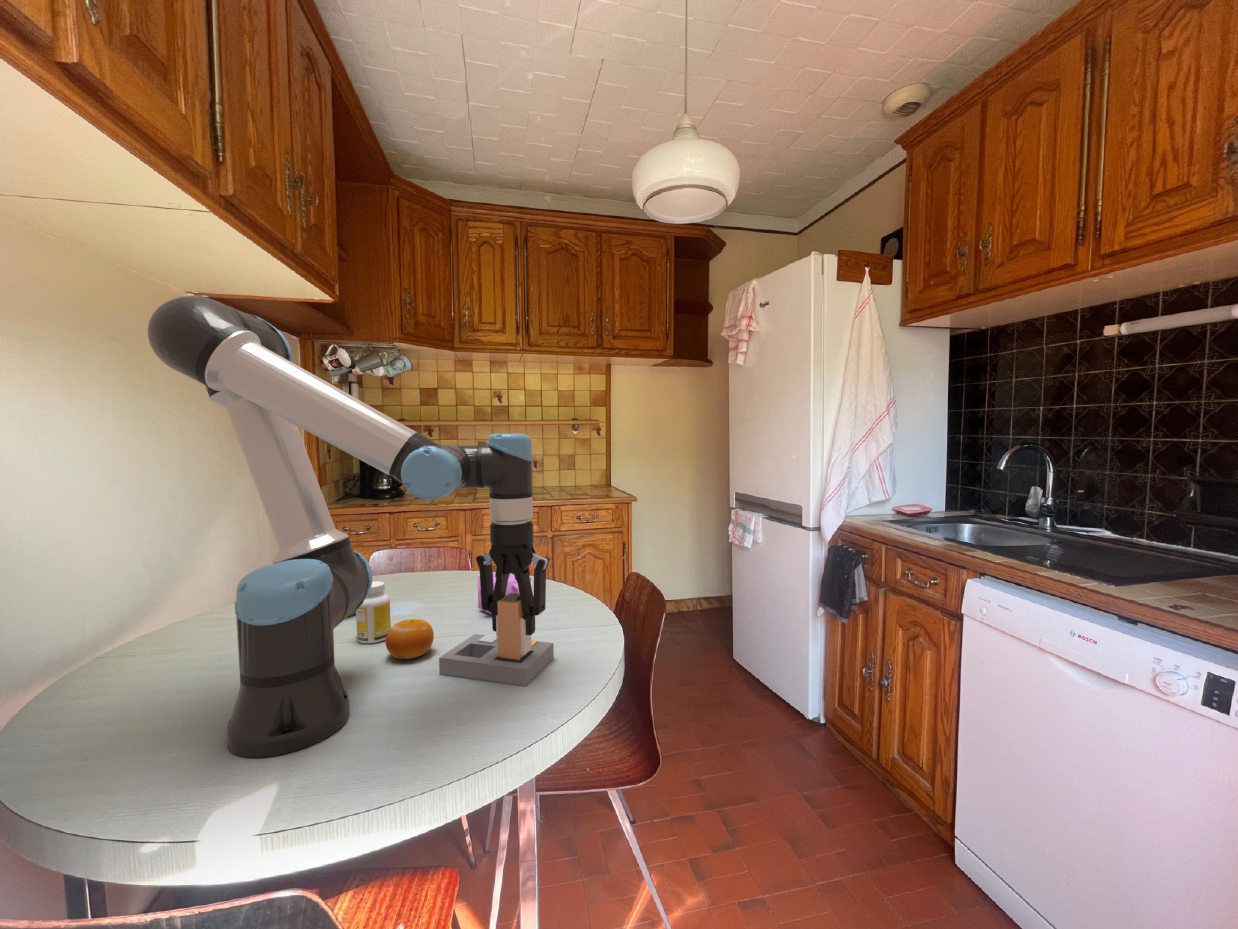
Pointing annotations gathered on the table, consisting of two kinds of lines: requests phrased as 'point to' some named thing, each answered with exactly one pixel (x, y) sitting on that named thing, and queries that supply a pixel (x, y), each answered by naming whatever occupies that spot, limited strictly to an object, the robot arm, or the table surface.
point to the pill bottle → (374, 615)
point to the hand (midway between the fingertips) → (514, 650)
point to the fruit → (409, 638)
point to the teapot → (511, 588)
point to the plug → (509, 626)
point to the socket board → (495, 661)
